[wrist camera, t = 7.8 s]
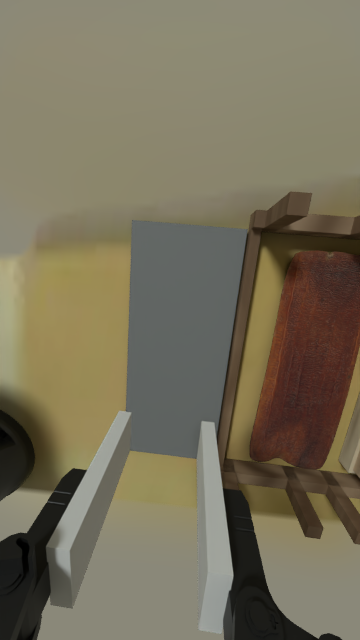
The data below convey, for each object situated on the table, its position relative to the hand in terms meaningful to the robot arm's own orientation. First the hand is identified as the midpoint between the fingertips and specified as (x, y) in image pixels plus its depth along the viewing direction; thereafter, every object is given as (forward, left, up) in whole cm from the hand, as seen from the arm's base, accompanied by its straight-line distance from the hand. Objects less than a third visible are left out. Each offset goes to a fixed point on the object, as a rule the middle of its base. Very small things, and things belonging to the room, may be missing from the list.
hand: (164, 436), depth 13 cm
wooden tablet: (+10, 0, -13) cm, 17 cm away
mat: (0, 0, -13) cm, 13 cm away
